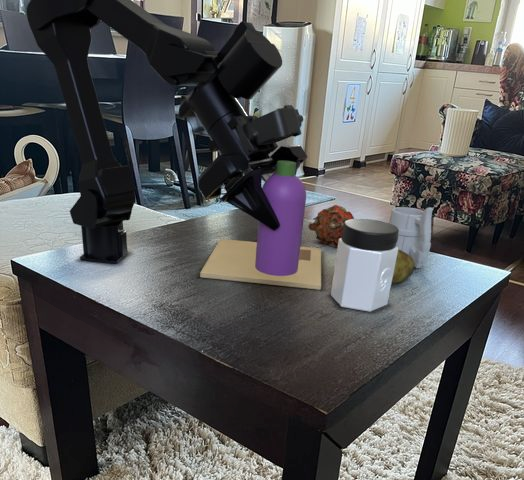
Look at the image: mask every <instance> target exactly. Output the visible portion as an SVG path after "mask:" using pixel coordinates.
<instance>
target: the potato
mask: <svg viewBox="0 0 524 480" xmlns="http://www.w3.org/2000/svg"><path fill="white" fill-rule="evenodd" d="M414 266H415V263H414V260H413V258H412V257H411V256H410V255H408V254H407V253H405V252H403V251H401V250H399V249H398V253H397V258H396V263H395V268H394V273H393V278H392V283H391V285H395V284H399V283H402V282H404V281H406V280H407V279H409V278H410V277H411V276H412V275H413V272H414V269H415V267H414Z"/></svg>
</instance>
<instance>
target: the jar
mask: <svg viewBox="0 0 524 480" xmlns="http://www.w3.org/2000/svg"><path fill="white" fill-rule="evenodd" d="M398 233H399V229H398V228H397V227H396V226H394V225H392V224H390V223H389V222H387V221H384V220H378V219H372V218H371V219H370V218H354V219H351V220H347V221H346V222H345V223H344V226H343V233H342V238H340V239H339V241H338V246H337V247H336V248H337V249H336V255H335V262H334V270H333V276H332V283H331V291H330V296H331V298H333V299H334V300H335V302H336V303H337V304H338V305H339V306H340V307H341V308H346V309H350V310H357V311H364V312H368V313H371V312H373V311H376V310H378V309H380V308H383V307H386V306H387V305H388V303H389V297H390V293H391V292H390V291H391V289H392V284H391V283H392V278H393V273H394V268H395V263H396V258H397V253H398V247H397V246H396V243H397V240H398Z"/></svg>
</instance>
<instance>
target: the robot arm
mask: <svg viewBox="0 0 524 480" xmlns="http://www.w3.org/2000/svg"><path fill="white" fill-rule="evenodd" d="M26 18H27V19H26V20H27V22H28V26H29V28H30V30H31V32H32V35H33V38H34V40H35V43H36V45H37V47H38V48H39V49H40V51H41V52H42V53H44V55H45V57H47V59H48V60H49V61H50V62H51V63H52V65H53V66H54V67H53V68H54V69H55V73H56V76H57V79H58V84H59V86H60V90H61V93H62V97H63V101H64V103H65V107H66V112H67V114H68V118H69V121H70V124H71V128H72V131H73V134H74V138H75V142H76V146H77V148H78V152H79V156H80V159H81V168H80V172H79V176H78V182H77V184H78V190H79V194H80V196H79V198H77V200H76V201H75V203H74V204H73V205H72V206H71V208H70V209H69V214H70V217H71V220H72V223H73V224H74V225H77V226H80V228H81V238H82V239H81V240H82V250H83V254H81V255H80V256H79V260H80V261H86V262H94V263H104V264H105V263H106V264H118V263H119V262H120V261H121V260H122V259H123V258H124V257H125V256H127V255H128V253H129V249H128V238H127V230H126V229H124V222H125V221H130V220H131V217H132V216H131V215H132V212H133V208H134V205H135V204H136V201H137V198H136V192H137V191H138V189H137V187H136V185H135V183H134V179H133V174H132V169H131V167H130V166H129V165H121V164H120V163H119V161H118V160H117V159H116V158H115V156H114V154H113V150H112V147H111V143H110V139H109V135H108V132H107V131H108V130H107V128H106V125H105V120H104V117H103V114H102V110H101V106H100V103H99V99H98V94H97V92H96V87H95V84H94V81H93V76H92V73H91V70H90V69H91V68H90V66H89V65H90V64H89V61H88V58H89V54H90V49H91V45H92V41H93V39H92V32H91V30H92V29H94V28H95V27H97V26H98V25H100V24H101V22H102V23H104V24H105V25H106V26H108V27H109V28H111V29H112V30H113V31H115V32H116V33H117V34H119V35H120V36H121V37H122V38H124V39H125V40H127V41H128V42H130V43H131V45H134V46H135V47H136V48H137V49H139V50H140V51H141V52H142V53H143V54H144V55H145V56H146V59H147V61H148V62H147V63H148V64H149V66H150V68H151V69H153V70H154V72H155V73H156V74H157V75H158V77H160V78H161V80H162V81H164V83H166V84H168V85H170V86H173V87H176V86H177V87H178V86H179V87H194V88H193V90H192V91H191V92H190V93H189V95H186V94H185V95H181V96H180V105H179V108H178V117H179V118H182V119H183V118H197V121H198V122H199V123H200V125H201V126H202V129H204V131H205V133H206V134H207V136H208V137H209V139H210V142H209V143H208V144H207V148H208V150H209V151H210V152H211V153H215V152H218V153H219V154H218V155H217V157H215V159H214V160H213V161H212V162H211V163H210V164H209V165H208V166H207V167H206V168H205V170H204V171H202V172H201V174H200V175H198V177H197V189H198V191H199V192H200V193H201V195H202V197H203V198H204V200H205V201H209V200H214V199H217V198H220V201H221V202H222V203H228V204H230V205H231V206H233V207H234V208H237V209H238V210H240V211H242V212H244V213H245V214H247V215H249V216H250V217H252V218H253V219H255V220H256V221H258V222H259V221H260V222H261V223H263V224H264V225H266V226H267V227H269V228H271V229H272V230H277V229H278V228H279V227H280V223H279V221H278V218H277V216H276V214H275V212H274V210H273V208H272V206H271V204H270V202H269V201H268V199H267V197H266V195H265V193H264V191H263V189H262V187H263V185H262V181H263V182H264V183H265V182H266V180H267V179H268V178H269V177H271V176H272V175H274V174H276V171H277V161H292V162H295V163H296V168H295V176H297V172H298V169H299V168H300V167H301V165H302V164H303V163H304V162H305V161H307V159H308V155H307V153H306V151H305V150H304V149H303V147H302V145H299V144H286V145H280V146H279V145H278V144H277V143H279V142H281V141H284V140H287V139H289V138H291V137H294V138H295V137H298V136H301V135H302V131H301V127H302V126H303V125H302V124H303V122H304V117H303V115H302V114H300V112H299V109H298V108H295V107H294V106H293V105H292V104H284V106H283V107H279V108H276V110H273V111H270V112H267V113H266V114H264V115H260V116H259V117H258V116H256V115H248V114H247V113H246V111H245V109H244V108H243V106H242V105H241V104H240V102H239V101H238V100H239V99H245V100H252V99H253V98H254V97H256V95H257V94H258V93H259V92H260V91H261V89H262V88H263V87H264V86H265V85H266V84H267V83H268V82H269V80H270V79H272V77H273V76H274V75H275V74H276V73H277V72H278V71H279V70H280V68H281V67H282V66H283V58H282V56H281V53H280V51H279V49H278V47H277V46H276V45H275V44H274V43H272V42H271V41H270V39H268V38H267V37H266V36H265V35H264V34H263V33H262V32H260V31H259V30H257V29H256V28H255V26H254V24H253V23H252V22H249V21H244V20H241V21H240V22H239V23H238V25H237V26H236V27H235V28H234V30H233V33H232V34H231V36H230V37H229V38H228V40H227V41H226V42H225V43H224V45H223V46H222V48H221V49H220V50H219V51H216V49H215V47H214V46H213V44H212V43H211V42H210V41H208V40H207V39H205V38H203V37H200V36H198V35H195V34H193V33H191V32H187V31H185V30H181V29H178V28H175V27H172V26H169V25H168V24H165V23H164V22H163V21H161V20H160V19H158V18H157V17H155V16H154V15H153V14H151V12H148V11H147V10H146V9H145V8H143V7H141V5H139V4H137V3H136V2H135V1H134V0H30V1H29V2H28V3H27V6H26ZM271 153H272V154H271ZM270 154H271V155H270ZM223 185H224V187H223V189H224V190H225V193H224V194H223V195H222V188H221V187H222V186H223ZM221 195H222V196H221Z"/></svg>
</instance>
